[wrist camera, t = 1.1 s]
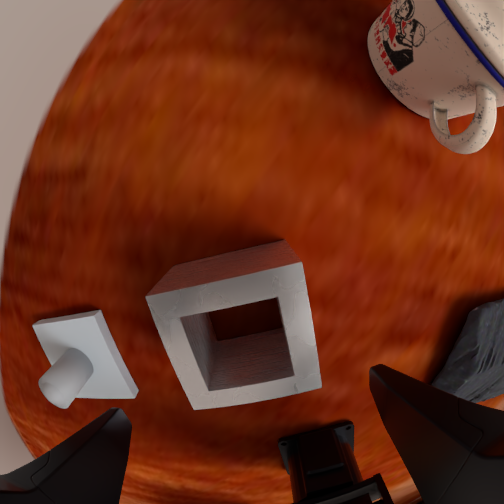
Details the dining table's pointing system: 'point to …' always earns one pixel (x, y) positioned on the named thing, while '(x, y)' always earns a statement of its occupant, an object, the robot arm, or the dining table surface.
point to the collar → (240, 348)
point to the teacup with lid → (444, 63)
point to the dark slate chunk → (477, 356)
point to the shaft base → (95, 349)
